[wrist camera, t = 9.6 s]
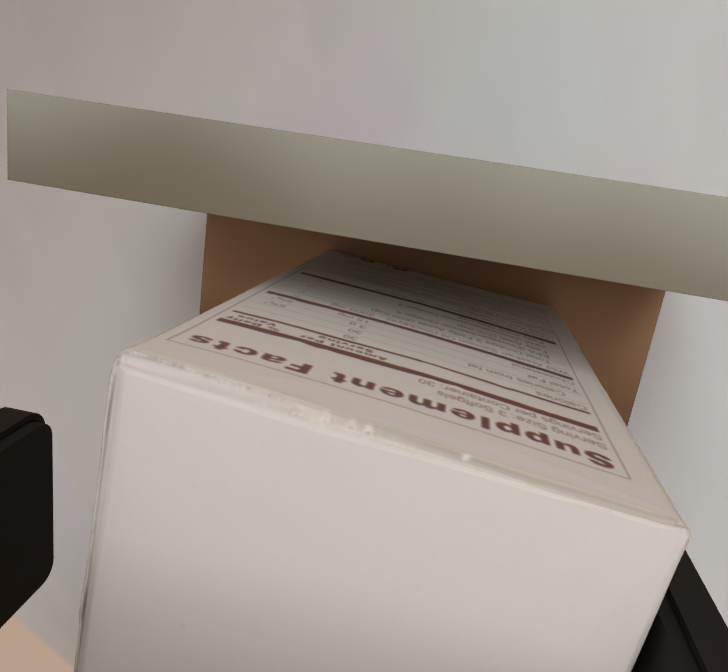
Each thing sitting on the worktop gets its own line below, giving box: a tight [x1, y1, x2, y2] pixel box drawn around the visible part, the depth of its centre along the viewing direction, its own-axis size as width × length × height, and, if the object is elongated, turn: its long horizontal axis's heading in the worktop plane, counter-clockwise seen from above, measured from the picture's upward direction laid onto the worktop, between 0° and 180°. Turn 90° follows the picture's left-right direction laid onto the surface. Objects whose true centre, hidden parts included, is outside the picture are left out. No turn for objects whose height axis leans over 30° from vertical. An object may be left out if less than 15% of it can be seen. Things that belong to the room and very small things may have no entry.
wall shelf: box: [7, 89, 728, 426], centre depth 18 cm, size 14×14×12 cm
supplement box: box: [74, 250, 690, 672], centre depth 14 cm, size 7×7×13 cm
